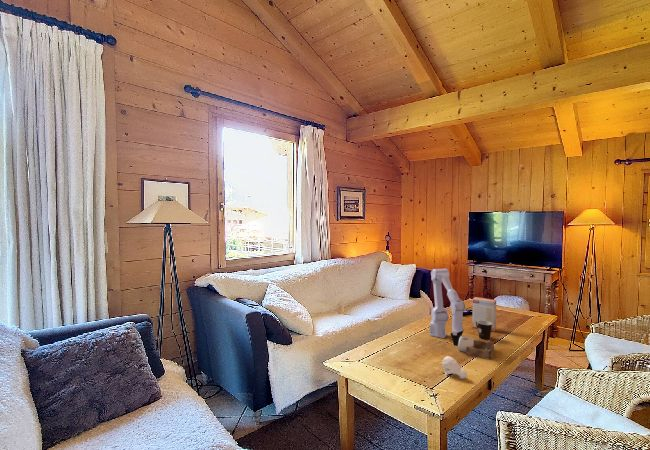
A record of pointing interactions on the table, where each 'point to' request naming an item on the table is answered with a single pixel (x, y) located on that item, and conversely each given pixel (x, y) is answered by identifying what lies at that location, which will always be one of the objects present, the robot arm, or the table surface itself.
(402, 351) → the table surface
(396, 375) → the table surface
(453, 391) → the table surface
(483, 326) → the coffee mug
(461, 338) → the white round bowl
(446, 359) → the white rounded piece
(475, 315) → the cracker box
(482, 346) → the cradle
